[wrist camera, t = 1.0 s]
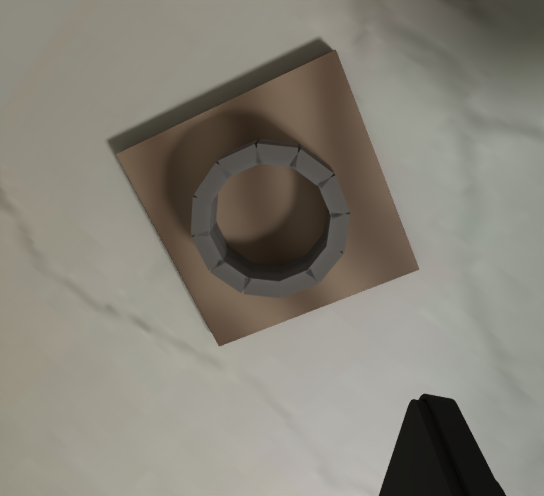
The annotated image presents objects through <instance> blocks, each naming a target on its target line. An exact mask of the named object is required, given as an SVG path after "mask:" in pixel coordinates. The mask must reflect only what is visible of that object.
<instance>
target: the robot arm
mask: <svg viewBox="0 0 544 496" xmlns="http://www.w3.org/2000/svg"><path fill="white" fill-rule="evenodd" d="M379 496H506V495H505V493H504V491H503V489H502V487H501V486H500V485H499V483H498V482H497V481H496V480H495V478H494V476H493V474H492V472H491V470H490V468H489V466H488V464H487V462H486V460H485V458H484V456H483V454H482V452H481V450H480V448H479V446H478V444H477V442H476V441H475V439H474V437H473V435H472V433H471V431H470V429H469V427H468V425H467V423H466V421H465V419H464V417H463V415H462V413H461V411H460V409H459V407H458V405H457V403H456V402H455V400H453V399H450V398H445V397H440V396H434V395H429V394H423V395H421V397H420V398H419V400H415V399H413V400H411V401H410V403H409V405H408V408H407V411H406V414H405V417H404V420H403V423H402V427H401V430H400V433H399V436H398V439H397V442H396V445H395V448H394V451H393V454H392V457H391V460H390V463H389V466H388V469H387V472H386V475H385V478H384V481H383V484H382V487H381V491H380V494H379Z"/></svg>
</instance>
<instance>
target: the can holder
mask: <svg viewBox="0 0 544 496" xmlns="http://www.w3.org/2000/svg"><path fill="white" fill-rule="evenodd" d="M116 155H117V157H118V159H119V161H120V163H121V165H122V167H123V168H124V170H125V172H126V174H127V176H128V178H129V180H130V181H131V183H132V185H133V187H134V189H135V191H136V193H137V195H138V196H139V198H140V200H141V202H142V204H143V206H144V208H145V209H146V211H147V213H148V215H149V217H150V219H151V221H152V222H153V224H154V226H155V228H156V230H157V232H158V234H159V235H160V237H161V239H162V241H163V243H164V245H165V247H166V248H167V250H168V252H169V254H170V256H171V258H172V260H173V261H174V263H175V265H176V267H177V269H178V271H179V273H180V274H181V276H182V278H183V280H184V282H185V284H186V286H187V288H188V289H189V291H190V293H191V295H192V297H193V299H194V301H195V302H196V304H197V306H198V308H199V310H200V312H201V314H202V315H203V317H204V319H205V321H206V323H207V325H208V327H209V328H210V330H211V332H212V334H213V336H214V338H215V340H216V341H217V343H218V345H219V346H222V345H224V344H227V343H229V342H232V341H235V340H237V339H240V338H242V337H245V336H248V335H250V334H253V333H255V332H258V331H261V330H263V329H266V328H268V327H271V326H274V325H276V324H279V323H281V322H284V321H287V320H289V319H292V318H294V317H297V316H300V315H302V314H305V313H307V312H310V311H313V310H315V309H318V308H320V307H323V306H326V305H328V304H331V303H333V302H336V301H339V300H341V299H344V298H346V297H349V296H351V295H354V294H357V293H359V292H362V291H364V290H367V289H370V288H372V287H375V286H377V285H380V284H383V283H385V282H388V281H390V280H393V279H396V278H398V277H401V276H403V275H406V274H409V273H411V272H414V271H416V270H419V267H418V265H417V262H416V260H415V257H414V254H413V252H412V249H411V246H410V244H409V241H408V239H407V236H406V233H405V231H404V228H403V225H402V223H401V220H400V217H399V215H398V212H397V210H396V207H395V204H394V202H393V199H392V196H391V194H390V191H389V189H388V186H387V183H386V181H385V178H384V175H383V173H382V170H381V167H380V165H379V162H378V160H377V157H376V154H375V152H374V149H373V146H372V144H371V141H370V138H369V136H368V133H367V131H366V128H365V125H364V123H363V120H362V117H361V115H360V112H359V110H358V107H357V104H356V102H355V99H354V96H353V94H352V91H351V88H350V86H349V83H348V81H347V78H346V75H345V73H344V70H343V67H342V65H341V62H340V60H339V57H338V54H337V52H336V50H334V51H332V52H330V53H327V54H325V55H323V56H321V57H319V58H317V59H315V60H313V61H311V62H309V63H306V64H304V65H302V66H300V67H298V68H296V69H294V70H292V71H290V72H288V73H285V74H283V75H281V76H279V77H277V78H275V79H273V80H271V81H269V82H266V83H264V84H262V85H260V86H258V87H256V88H254V89H252V90H250V91H248V92H245V93H243V94H241V95H239V96H237V97H235V98H233V99H231V100H229V101H227V102H224V103H222V104H220V105H218V106H216V107H214V108H212V109H210V110H208V111H206V112H203V113H201V114H199V115H197V116H195V117H193V118H191V119H189V120H187V121H185V122H182V123H180V124H178V125H176V126H174V127H172V128H170V129H168V130H166V131H163V132H161V133H159V134H157V135H155V136H153V137H151V138H149V139H147V140H145V141H142V142H140V143H138V144H136V145H134V146H132V147H130V148H128V149H126V150H124V151H121V152H119V153H117V154H116Z"/></svg>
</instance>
